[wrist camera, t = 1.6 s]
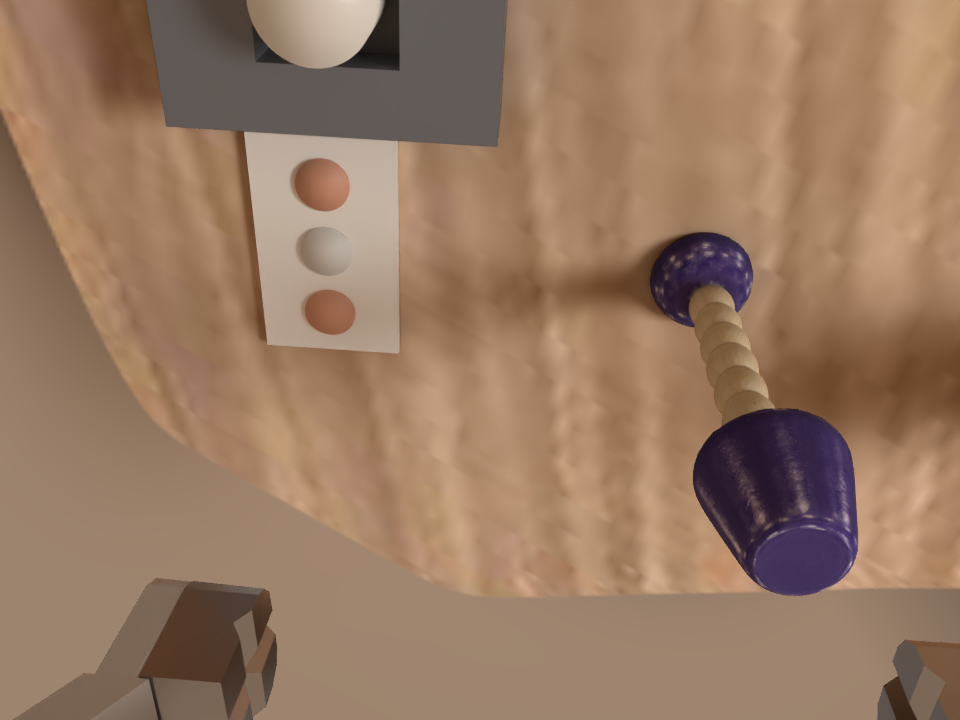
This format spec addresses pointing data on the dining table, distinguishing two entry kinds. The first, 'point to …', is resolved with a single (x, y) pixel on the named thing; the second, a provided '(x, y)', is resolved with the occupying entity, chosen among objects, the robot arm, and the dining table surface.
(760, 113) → the dining table surface
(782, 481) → the toy lamp
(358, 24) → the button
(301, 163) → the pattern card
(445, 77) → the button panel
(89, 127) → the dining table surface
